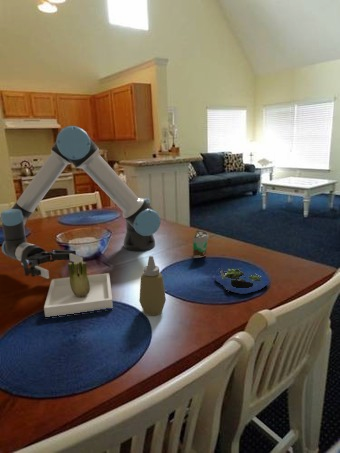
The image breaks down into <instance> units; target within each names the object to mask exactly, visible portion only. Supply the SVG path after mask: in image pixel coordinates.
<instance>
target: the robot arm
mask: <svg viewBox="0 0 340 453" xmlns="http://www.w3.org/2000/svg"><path fill="white" fill-rule="evenodd" d="M55 140H56V141H55V142H54V144H53V146H52V148H50V152H51V153H50V155H49V156H48V158H47V159H46V160H45V162H44V163H43V164H42V166H41V167H40V169H39V170H38V171H37V173H36V174H35V176H34V177H32V178H33V179H32V180H31V181H30V182H29V184H28V185H27V187H26V188H25V189H24V190H23V191H22V193H21V195H20V196H19V198H18V199H17V200H16V202H15V204H14V205H13V206H12V208H9V209H6V210H2V211H1V212H0V222H1V227H2V232H3V236H4V241H3V242H2V245H1V252H2V253H3V254H4V255H5V256H7V257H8V258H10V259H13V260H17V261H19V262H20V263H21V267H22V268H23V270H24V276H26V277H27V276H31V277H35V276H40V277H42V278H44V279H50V271H49V270H48V269H46V268H44V267H41V264H45V263H50V262H51V263H52V262H55V261H70V262H71V263H75V262H77V263H78V265H79V261H81V262H82V263H83V262H84V260H83V259H84V258H83V257H82V256H80V255H78V254H77V252H76V250H68V249H57V248H52V249H51V251H46V250H45V249H44V248H43V247H41V246H39V245H36V244H33V243H30V242H28V241H27V236H26V231H25V230H26V229H25V225H26V223H27V221H28V220H29V218H30V217H31V215H32V214H33V212H34V211H35V209H36V208H37V207H38V206H39V204H40V203H41V201H42V200H43V198H44V197H45V196H46V194H47V193H48V192H49V191H50V189H51V188H52V186H53V185H54V183H55V182H56V181H57V180H58V178H59V177H60V176H61V174H62V173H63V172H64V170H65V169H66V167H67V166H68V165H73V166H74V167H75V169H81V170H83V171H84V172H85V173H86V175H88V176H89V177H90V178H91V179H92V181H93V182H94V183H95V184H97V185H98V187H100V190H102V191H103V192H104V193H105V194H106V195H107V196H108V197H109V198H110V199H111V200H112V202H113V203H114V204H115V205H116V206H117V207H118V208H119V209H120V210H121V211H122V217H123V218H124V220H125V226H126V227H125V229H126V232H125V235H124V240H123V248H124V249H126V250H127V251H132V252H133V251H134V252H143V251H148V250H151V249H153V248H155V246H156V241H155V236H154V234H155V233H156V232H158V230H159V229H160V227H161V217H160V214H159V213H158V212H157V211H156V210H154V208H153V207H152V206H151V201H150V199H149V198H144V197H138V196H137V194H135V192H134V191H133V190H132V189H131V188H130V187H129V186H128V184H126V183H125V181H124V180H123V179H122V178H121V177H120V176H119V174H118V173H117V172H116V171H115V170H114V169H113V168H112V167H111V166H110V164H108V162H106V160H105V159H104V158H103V157H102V156H101V155H100V153H99V152H100V150H99V147H98V145H97V144H96V143H95V141H93V140H92V138H90V135H89V134H88V133H87V131H85V129H83V128H81V127H79V126H76V125H68V126H65V127H63V128H62V129H60V131H59V132H58V133H57V135H56V139H55ZM29 266H30V268H29ZM30 274H31V275H30Z"/></svg>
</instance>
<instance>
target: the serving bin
mask: <svg viewBox="0 0 340 453" xmlns="http://www.w3.org/2000/svg"><path fill="white" fill-rule="evenodd" d="M87 276H88V280H89V284H90V291H89V293H88V294H87V295H86V296H84V297H77V296H76V295H74V293H73V291H72V289H71V285H70V276H68V277H60V278H59V277H58V278H51V281H50V285H49V288H48V292H47V295H46V300H45V302H44V306H43V311H44V312H43V313H44V316H45V317H50V316H57V315H58V316H59V315H66V314H74V313H80V312H87V311H94V310H100V309H106V308H113V309H114V307H113V305H114V304H113V296H112V295H113V294H112V293H113V292H112V286H111V278H110V272H107V273H106V272H105V273H98V274H89V275H88V274H87ZM74 315H75V314H74ZM59 317H60V316H59Z"/></svg>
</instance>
